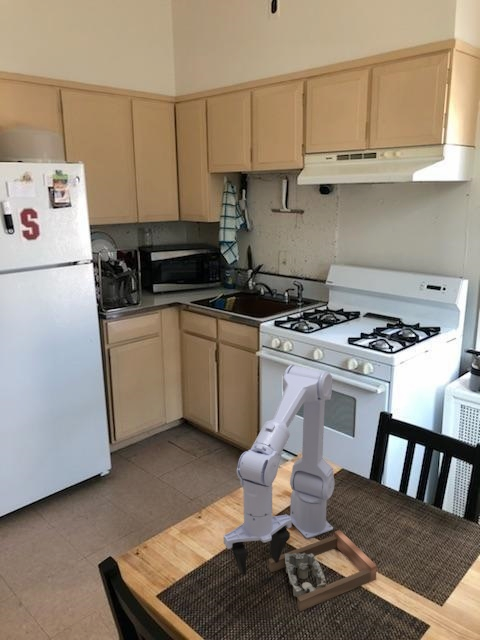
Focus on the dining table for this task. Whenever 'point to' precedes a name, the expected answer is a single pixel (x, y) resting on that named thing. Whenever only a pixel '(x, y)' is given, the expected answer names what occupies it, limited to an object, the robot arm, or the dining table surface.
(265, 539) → the robot arm
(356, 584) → the channel
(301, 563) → the egg carton
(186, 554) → the dining table surface
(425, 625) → the dining table surface
